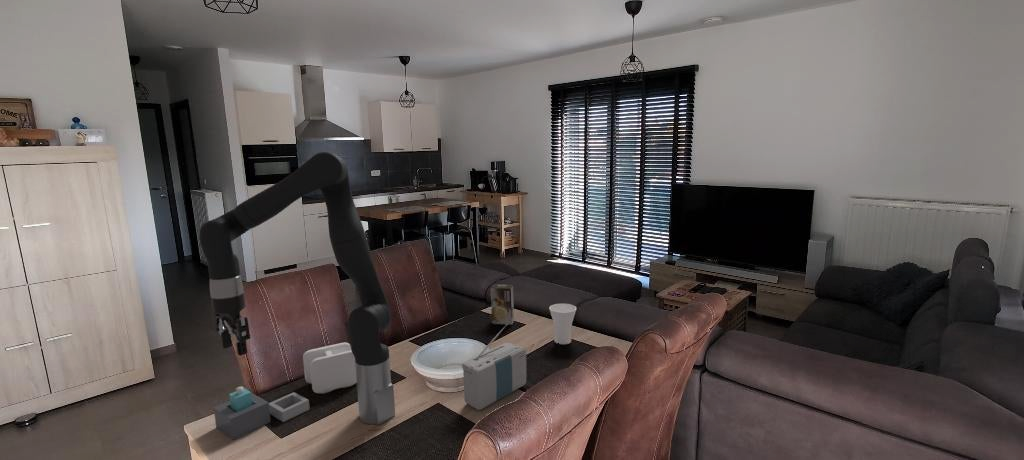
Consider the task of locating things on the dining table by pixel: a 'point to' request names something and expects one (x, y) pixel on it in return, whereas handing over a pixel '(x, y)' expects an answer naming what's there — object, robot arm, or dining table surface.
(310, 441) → the dining table surface
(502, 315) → the coffee box
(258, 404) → the port
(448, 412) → the dining table surface
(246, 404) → the plug
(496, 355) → the stereo radio cassette player
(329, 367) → the cable organizer
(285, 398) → the grey square hollow frame
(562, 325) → the cup
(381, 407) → the robot arm
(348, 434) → the dining table surface
